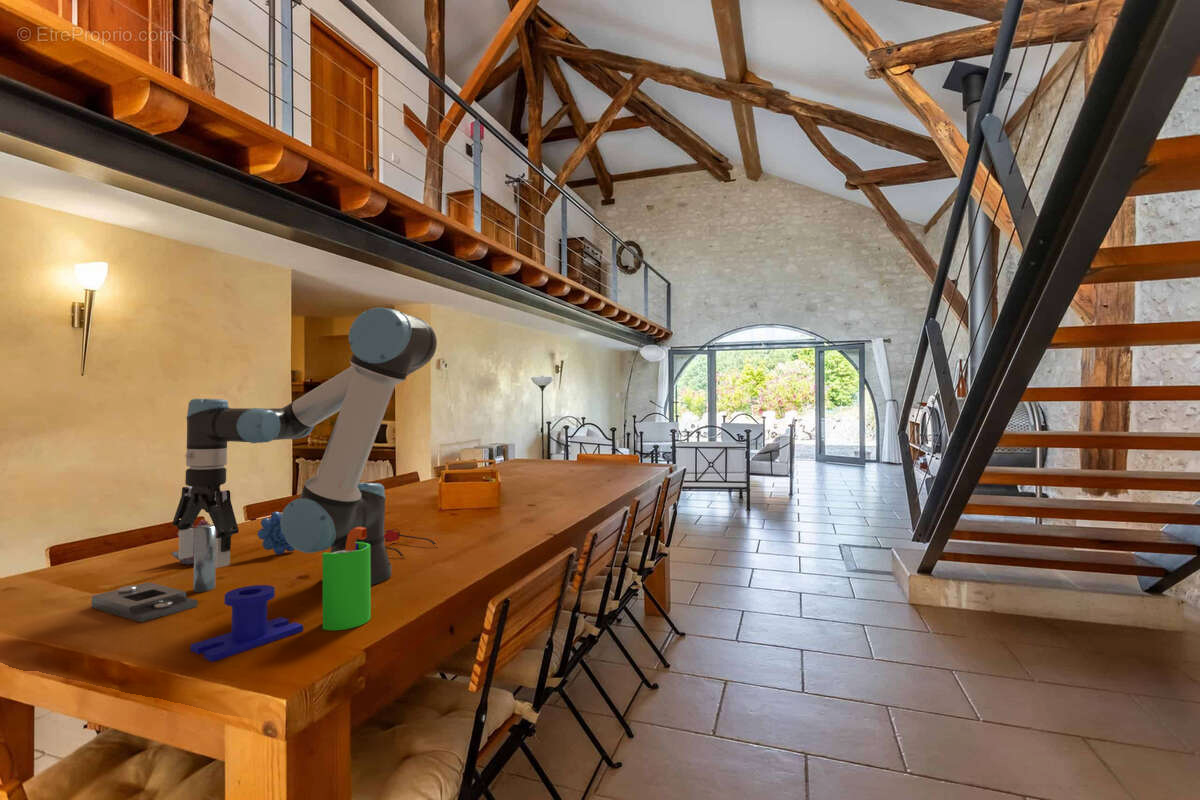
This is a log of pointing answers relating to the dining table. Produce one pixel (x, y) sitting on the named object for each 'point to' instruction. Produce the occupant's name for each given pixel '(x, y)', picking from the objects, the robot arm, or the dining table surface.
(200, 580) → the pin
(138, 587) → the slotted grey clamp plate
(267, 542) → the grapes
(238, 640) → the mount
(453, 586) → the dining table surface
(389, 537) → the glasses
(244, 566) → the dining table surface
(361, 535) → the green half cylinder
